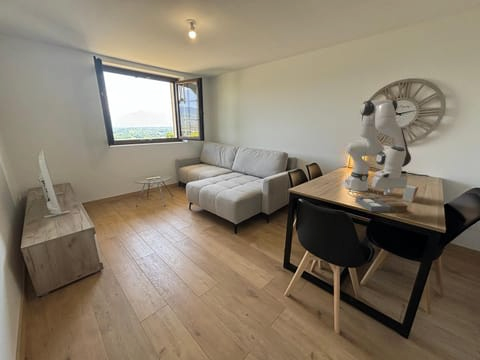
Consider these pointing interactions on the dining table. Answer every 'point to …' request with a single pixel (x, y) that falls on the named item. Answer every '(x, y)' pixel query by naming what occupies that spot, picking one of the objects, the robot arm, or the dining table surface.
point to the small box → (410, 193)
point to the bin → (381, 208)
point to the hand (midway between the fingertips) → (386, 194)
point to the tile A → (368, 201)
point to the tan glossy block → (393, 204)
